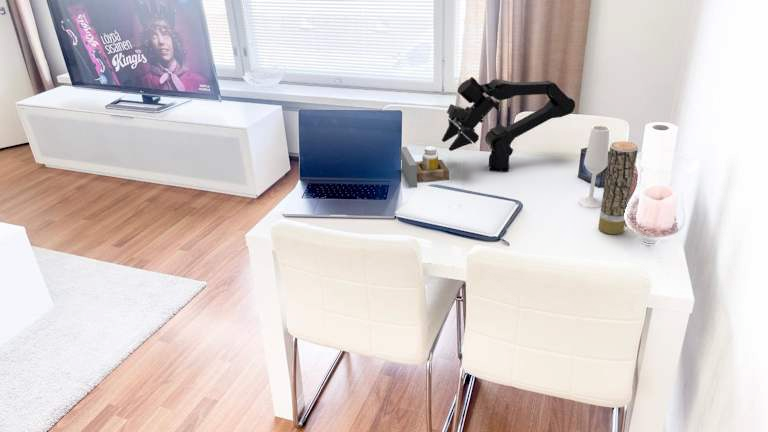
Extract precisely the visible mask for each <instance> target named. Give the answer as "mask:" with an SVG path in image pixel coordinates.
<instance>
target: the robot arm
mask: <svg viewBox="0 0 768 432" xmlns="http://www.w3.org/2000/svg"><path fill="white" fill-rule="evenodd" d="M457 93H458V94H459V95H460V96H461V97H462V98H464V100H465V101H467V103H468V104H472V105H471V106H470V107H469V106H467V107H465V108H463V107H461V106H457V105H454V104H451V103H450V104H449V107H448V108H447V111H446V114H448V120H447V122H448V127H447V129H446V131H445V133H444V135H443V137H442V139H441V142H443V143H445V142H447V141H449V140H450V139H452V138H454V137H455V136H456V135H457V137H456V138H455V139H454V141H453V142H452V143H451V144H450V146H449V148H448V150H449V152H452V151H455V150H457V149H460V148H462V147H464V146H467V145H472V144H476V143H477V142H478V141H479V140H480V138H479V137H480V135H478V134H477V132H476V131H475V128H476V127H477V125H478V124H479V123H480V124H483V122H484V120H483V119H484V118H485V117H486V116H487V115H488V114H489V113H490V112H491V111H492V110H493V108H494V109H495V110H496V111H497V112H499V111H500V102H499V101H504V100H509V99H512V98H514V97H516V96H517V97H518V96H534V95H535V96H536V95H537V96H538V95H546V96H547V98H548V101H547V102H546V103H545V105H544V106H543V107H542V108H539V109H537V110H536V111H534V112H532V113H530V114H528V115H526V116H524V117H523V118H521V119H519V120H516V122H514V123H512V124H510V125H507V126H504V125H502V124H501V123H499V124H497V125H496V126H495V127H493V128H489V131H487V133H486V134H485V137H484V141H485V143H486V145H487V146H488V147H489V149H490V150H491V152H490V154H489V156H488V168H489V171H491V172H504V173H505V172H507V173H508V172H509V169H510V156H512V154H513V152H514V149H513V148H512V147H511V145H512V143H513V141H514V140H515V139H516V138H518V137H520V136H521V135H524V134H525V133H528V131H531V130H533V129H535V128H537V127H538V126H540V125H542V124H544V123H546V122H547V121H549V120H551V119H552V120H553V119H557V118H564V117H566V116H568V115H571V114H572V113H573V112H574V111H575V107H576V102H575V100H574V99H572V98H571V97H569V96H567V95H566V93H564V91H562V90H561V89H560V88H559V86H558V85H557V84H556V83H555V82H553V81H551V80H545V81H522V82H521V81H519V82H514V81H509V80H504V79H498V78H495V79H492V80H491V81H490V82H488V83H483V84H479V83H478V81H477V80H476V79H475V78H474V77H473V76H471V77H470V78H469V79H466V80H464V81H463V82H461V83H460V85H459V87H458V88H457ZM484 94H486V96H485V95H484ZM492 97H493V98H494V99H496V100H494V99H493V98H492Z"/></svg>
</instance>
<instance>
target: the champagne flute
mask: <svg viewBox="0 0 768 432" xmlns="http://www.w3.org/2000/svg"><path fill="white" fill-rule="evenodd" d="M609 138H610V128H609V127H608V126H606V125H593V126H592V127H591V129H590V135H589V139H588V144H587V147H586V148H587V151H586V156H585V160H584V165H585V167H586V169H587V170H588V171H589V172H590V173H592V179H591V183H590V187H589V194H588V196H587V197H584V198H582V199H581V198H580V199H579V200H578V203H579V205H581V206H583V207H585V208H599V207H601V205H602V201H600V200H598V199H596V198H595V197H594V193H595V187H596V186H595V180H596V174H598V173H600V172H601V171H603V170H604V169H605V168H606V167H607V165H608V151H609V144H610V143H609V141H610V139H609Z"/></svg>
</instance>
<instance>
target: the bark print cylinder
mask: <svg viewBox="0 0 768 432" xmlns="http://www.w3.org/2000/svg"><path fill="white" fill-rule="evenodd" d="M638 150H639V146H638V145H637V144H636V143H633V142H630V141H625V140H624V141H622V140H621V141H613V142H611V143H610V146H609V150H608V151H609V158H608V165H607V172H606V178H605V185H604V187H603V193H602V198H601V199H602V201H601V203H602V205H601V206H600V213H599V221H598V229H599V230H600V231H601V232H603V233H605V234H609V235H619V234H622V233H623V232H624V230H625V225H626V221H625V220H624V213H625V209H626V207H627V204H628V202H629V203H630V198H631V197H630V196H631V192H632V185H633V180H634V174H635V168H636V162H637V156H638ZM628 205H629V204H628Z"/></svg>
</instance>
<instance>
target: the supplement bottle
mask: <svg viewBox="0 0 768 432" xmlns="http://www.w3.org/2000/svg"><path fill="white" fill-rule="evenodd" d="M438 160H439V155H438V153H437V147H435V146H433V145H431V146H430V145H429V146H425V147H424V153H423V154H422V160H421V161H422V171H427V170H438Z"/></svg>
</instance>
